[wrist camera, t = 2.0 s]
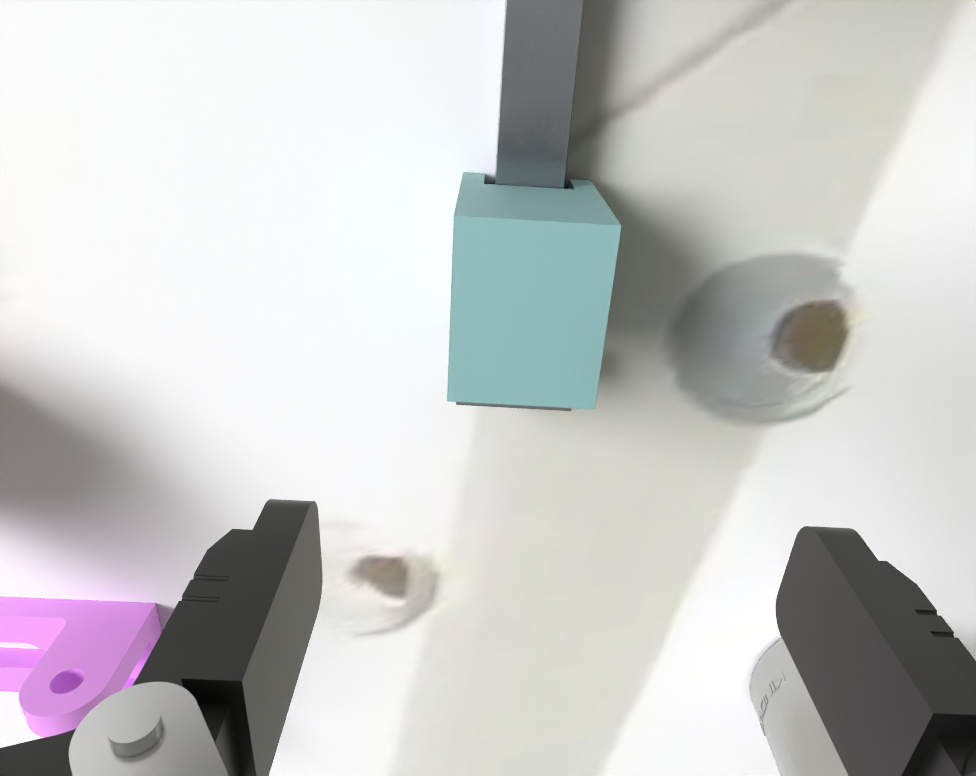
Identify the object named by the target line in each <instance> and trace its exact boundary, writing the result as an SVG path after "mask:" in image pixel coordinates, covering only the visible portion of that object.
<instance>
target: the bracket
mask: <svg viewBox="0 0 976 776" xmlns="http://www.w3.org/2000/svg"><path fill="white" fill-rule="evenodd" d="M161 633H162V630H161V626H160V621H159V617H158V612H157V608H156V603H141V602H117V601H93V600H69V599H45V598H21V597H0V642H18V643H29V644H32V645H35V646H37V647H38V648H40V649H22V648H0V691H10V692H20V693H19V701H20V705H21V707H22V710H23V713H24V715H25V718H26V721H27V723H28V726H29V728H30V729H31V730H32V731H33V732H34V733H35V734H37V735H39V736H42V737H50V736H54V735H58V734H61V733H65V732H68V731H71V730H73V729H76V728H77V727H78V725H79V724H80V723H81V721H82V720H83V719H84V717H85V716H86V715H87V714H88V713H89V712H90V711H91V710H92V709H93V708H94V707H96V706H97V705H98V704H99V703H100V702H102V701H103V700H105V699H106V698H108V697H109V696H111V695H113V694H115V693H117V692H119V691H121V690H123V689H125V688H128V687H131V686H132V685H133V683H134V682H135V680H136V678H137V677H138V675H139V673H140V671H141V669H142V668H143V666H144V664H145V662H146V660H147V659H148V657H149V655H150V653H151V651H152V650H153V648H154V646H155V644H156V642H157V640H158V639H159V637H160V635H161Z"/></svg>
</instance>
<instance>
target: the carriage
mask: <svg viewBox="0 0 976 776" xmlns="http://www.w3.org/2000/svg"><path fill="white" fill-rule="evenodd" d="M484 178H485V174H481V173H465V172H463V177H462V181H461V186H460V190H459V195H458V199H457V204H456V209H455V213H454V228H453V256H452V283H451V311H450V339H449V366H448V394H447V401H452V402H470V403H488V404H507V405H525V406H543V407H561V408H580V409H595V404H596V397H597V390H598V383H599V377H600V370H601V363H602V356H603V349H604V342H605V335H606V329H607V322H608V315H609V308H610V301H611V294H612V287H613V281H614V274H615V267H616V260H617V253H618V246H619V240H620V233H621V224H620V223H619V221H618V220H617V218H616V217H615V215H614V214H613V212H612V211H611V209H610V208H609V206H608V205H607V203H606V202H605V200H604V199H603V197H602V196H601V195H600V193H599V192H598V190H597V189H596V187H595V186H594V184H593V183H592V181H591V180H579V179H570V181H569V189H560V188H543V187H527V186H511V185H494V184H484Z"/></svg>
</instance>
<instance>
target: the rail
mask: <svg viewBox="0 0 976 776" xmlns="http://www.w3.org/2000/svg"><path fill="white" fill-rule="evenodd" d="M582 10H583V0H506V9H505V25H504V41H503V58H502V74H501V90H500V106H499V123H498V139H497V155H496V172H495V185H511V186H527V187H543V188H560V189H564V180H565V171H566V161H567V152H568V142H569V133H570V124H571V114H572V105H573V95H574V86H575V76H576V67H577V57H578V48H579V38H580V29H581V19H582ZM456 405H472V406H490V407H508V408H526V409H545V410H563V411H571V408H561V407H543V406H525V405H507V404H488V403H470V402H456Z"/></svg>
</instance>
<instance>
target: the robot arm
mask: <svg viewBox="0 0 976 776" xmlns="http://www.w3.org/2000/svg"><path fill="white" fill-rule="evenodd" d="M321 591H322V561H321V547H320V532H319V518H318V508H317V504H316V502H314V501H296V500H275V499H269V500H268V501H267V502H266V504H265V506H264V508H263V510H262V512H261V514H260V516H259V518H258V520H257V522H256V524H255V526H254V528H253V530H242V529H232V530H231V531H230V532H228V533H227V534H226V535H225V536H224V537H222V538H221V539H220V540H219V541H218V542H216V543H215V544H214V545H213V546H212V547H210V548H209V549H208V550H207V552H206V554H205V555H204V557H203V559H202V561H201V563H200V564H199V566H198V568H197V570H196V572H195V573H194V578H193V580H191V581H190V583H189V584H188V586H187V588H186V590H185V592H184V593H183V595H182V601H179V602H178V604H177V606H176V608H175V610H174V612H173V613H172V615H171V617H170V619H169V621H168V622H167V624H166V626H165V628H164V630H163V631H162V633H161V635H160V637H159V639H158V640H157V642H156V644H155V646H154V648H153V650H152V651H151V653H150V655H149V657H148V659H147V660H146V662H145V664H144V666H143V668H142V669H141V671H140V673H139V675H138V677H137V678H136V680H135V682H134V683H133V685H132V686H131V687H128V688H125V689H123V690H121V691H119V692H117V693H115V694H113V695H111V696H109V697H108V698H106V699H105V700H103V701H102V702H100V703H99V704H98V705H97V706H96V707H94V708H93V709H92V710H91V711H90V712H89V713H88V714H87V715H86V716H85V717H84V719H83V720H82V721H81V723H80V724H79V725H78V727H77V728H76V729H73V730H71V731H68V732H65V733H61V734H58V735H54V736H50V737H46V738H42V739H37V740H33V741H29V742H25V743H20V744H16V745H12V746H8V747H3V748H0V776H269V772H270V769H271V766H272V762H273V759H274V756H275V752H276V749H277V746H278V743H279V739H280V736H281V733H282V729H283V726H284V723H285V719H286V716H287V713H288V709H289V706H290V703H291V699H292V696H293V693H294V690H295V686H296V683H297V680H298V676H299V673H300V670H301V666H302V663H303V660H304V656H305V653H306V650H307V646H308V643H309V640H310V637H311V633H312V630H313V627H314V623H315V620H316V617H317V613H318V609H319V605H320V599H321ZM776 618H777V624H778V628H779V631H780V634H781V636H782V638H781V639H780V640H778V641H777V642H776V643H775V644H774V645H773V646H771V647H770V648H769V649H768V650H767V651H766V652H765V653H764V655H763V656H762V657H761V658H760V660H759V661H758V662H757V665H756V667H755V669H754V671H753V673H752V676H751V682H750V694H751V699H752V702H753V705H754V707H755V710H756V712H757V715H758V717H759V721H760V724H761V728H762V730H763V733H764V736H766V738H767V741H768V743H769V746H770V748H771V751H772V754H773V756H774V759H775V761H776V764H777V767H778V770H779V772H780V775H781V776H976V661H975V659H974V658H973V657H972V655H971V654H970V653H969V652H968V650H967V649H966V648H965V646H964V645H963V644H962V642H961V641H960V640H959V639H958V638H954V635H953V633H954V632H953V631H952V629H951V628H950V627H949V626H948V624H947V623H946V622H945V620H944V619H943V618H942V617H941V616H938V615H937V610H936V609H935V607H934V606H933V605H932V604H931V602H930V601H929V600H928V598H927V597H926V596H925V594H924V593H923V592H922V591H921V589H920V588H919V587H918V585H917V584H916V583H914V582H913V581H912V580H910V579H909V578H908V577H906V576H905V575H904V574H903V573H901V572H900V571H899V570H897V569H896V568H895V567H893V566H892V565H891V564H890V563H888V562H887V561H878V560H877V558H876V557H875V555H874V554H873V553H872V551H871V550H870V549H869V547H868V546H867V545H866V543H865V542H864V540H863V539H862V538H861V536H860V535H859V534H858V533H857V532H856V531H855V530H853V529H849V528H830V527H809V526H806V527H803V528H801V529H800V531H799V532H798V534H797V536H796V539H795V542H794V545H793V548H792V551H791V554H790V557H789V561H788V564H787V567H786V570H785V573H784V576H783V579H782V582H781V585H780V588H779V591H778V595H777V600H776Z"/></svg>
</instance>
